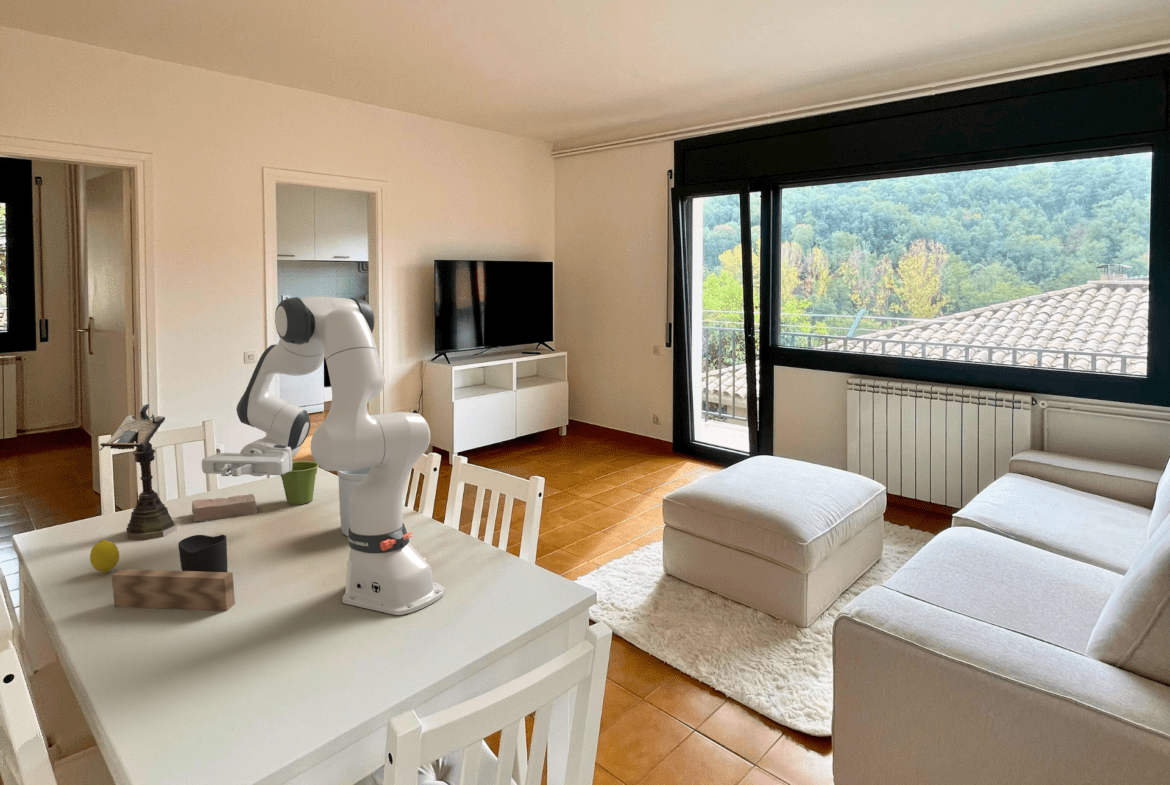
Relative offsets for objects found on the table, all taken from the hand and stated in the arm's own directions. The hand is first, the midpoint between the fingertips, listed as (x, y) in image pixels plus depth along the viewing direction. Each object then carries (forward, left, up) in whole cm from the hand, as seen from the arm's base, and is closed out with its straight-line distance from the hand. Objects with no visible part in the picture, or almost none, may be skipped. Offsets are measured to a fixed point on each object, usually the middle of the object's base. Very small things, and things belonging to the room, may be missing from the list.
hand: (229, 473), depth 165 cm
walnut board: (-12, +20, -22) cm, 32 cm away
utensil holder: (-9, -32, -22) cm, 40 cm away
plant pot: (+27, -36, -22) cm, 50 cm away
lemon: (+18, +21, -22) cm, 35 cm away
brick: (+35, -17, -22) cm, 45 cm away
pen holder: (-6, +11, -22) cm, 25 cm away
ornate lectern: (+35, +4, -22) cm, 42 cm away
